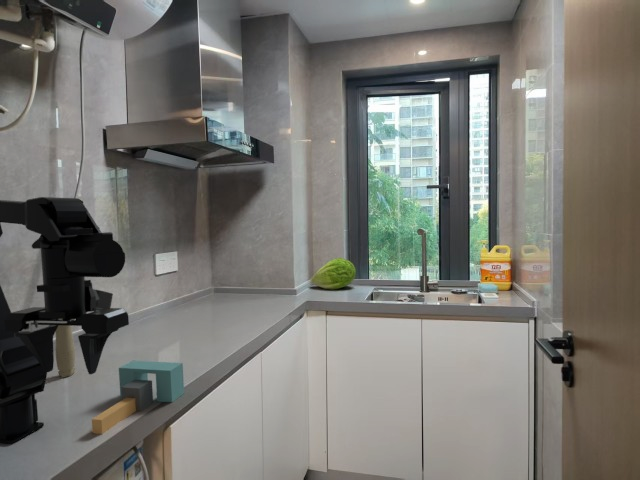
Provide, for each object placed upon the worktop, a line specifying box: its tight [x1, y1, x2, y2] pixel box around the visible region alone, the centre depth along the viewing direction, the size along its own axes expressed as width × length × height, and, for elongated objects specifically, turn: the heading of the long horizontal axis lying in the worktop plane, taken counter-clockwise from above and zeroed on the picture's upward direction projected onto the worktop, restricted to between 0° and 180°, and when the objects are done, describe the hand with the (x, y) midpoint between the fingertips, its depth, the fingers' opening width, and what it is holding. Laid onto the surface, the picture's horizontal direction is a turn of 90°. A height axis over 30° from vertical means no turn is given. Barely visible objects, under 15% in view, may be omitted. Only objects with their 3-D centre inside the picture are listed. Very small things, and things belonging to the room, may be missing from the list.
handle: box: [55, 319, 76, 378], centre depth 104 cm, size 5×6×15 cm
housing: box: [118, 360, 185, 403], centre depth 89 cm, size 4×12×6 cm, turn 77°
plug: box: [91, 379, 154, 435], centre depth 81 cm, size 14×4×4 cm, turn 167°
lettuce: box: [310, 257, 357, 290], centre depth 218 cm, size 15×25×16 cm
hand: (70, 372), depth 69 cm, fingers open, 8 cm apart
